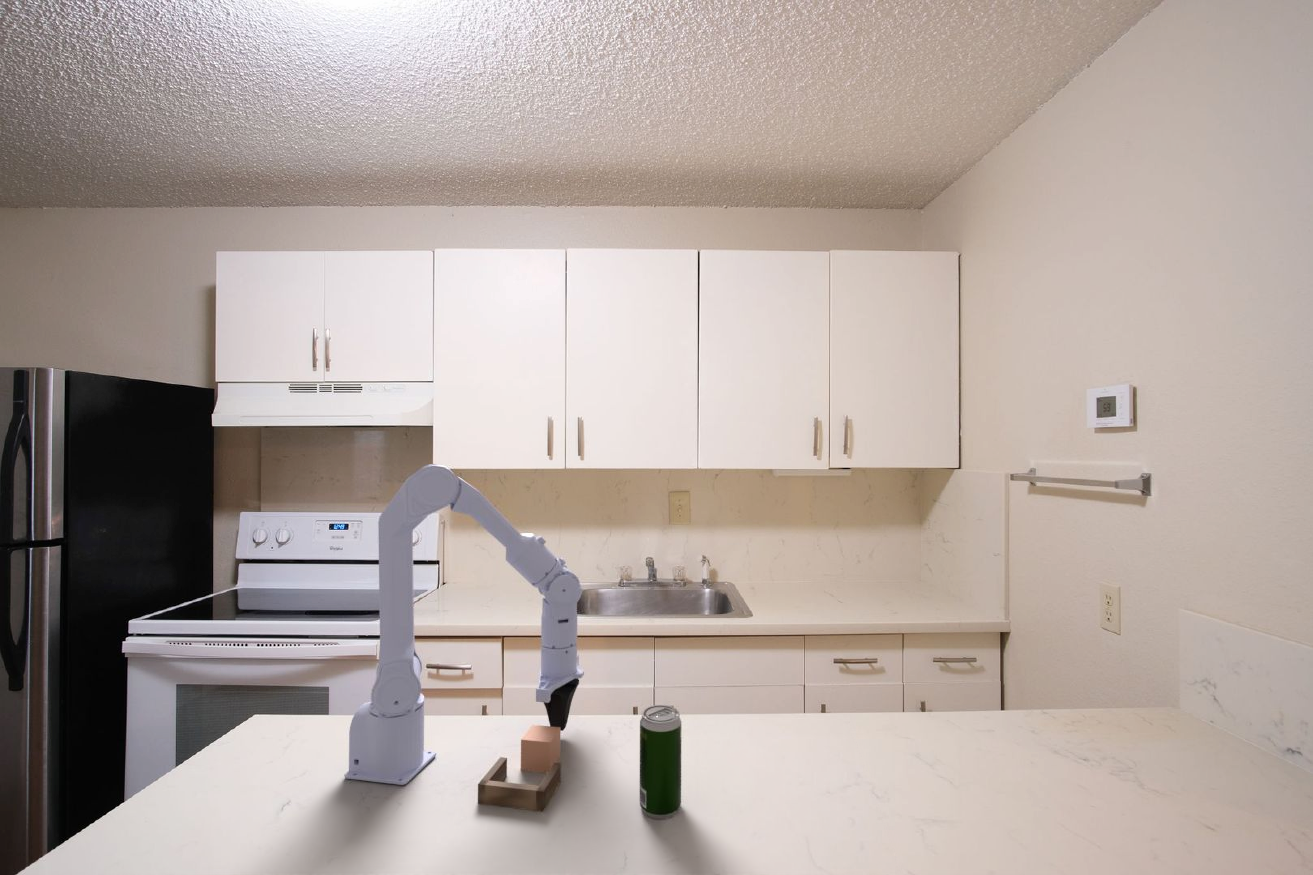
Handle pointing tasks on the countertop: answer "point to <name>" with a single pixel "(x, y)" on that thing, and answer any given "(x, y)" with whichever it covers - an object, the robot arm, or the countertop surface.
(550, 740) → the terracotta block
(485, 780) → the walnut bay
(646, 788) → the beer can
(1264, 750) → the countertop surface
